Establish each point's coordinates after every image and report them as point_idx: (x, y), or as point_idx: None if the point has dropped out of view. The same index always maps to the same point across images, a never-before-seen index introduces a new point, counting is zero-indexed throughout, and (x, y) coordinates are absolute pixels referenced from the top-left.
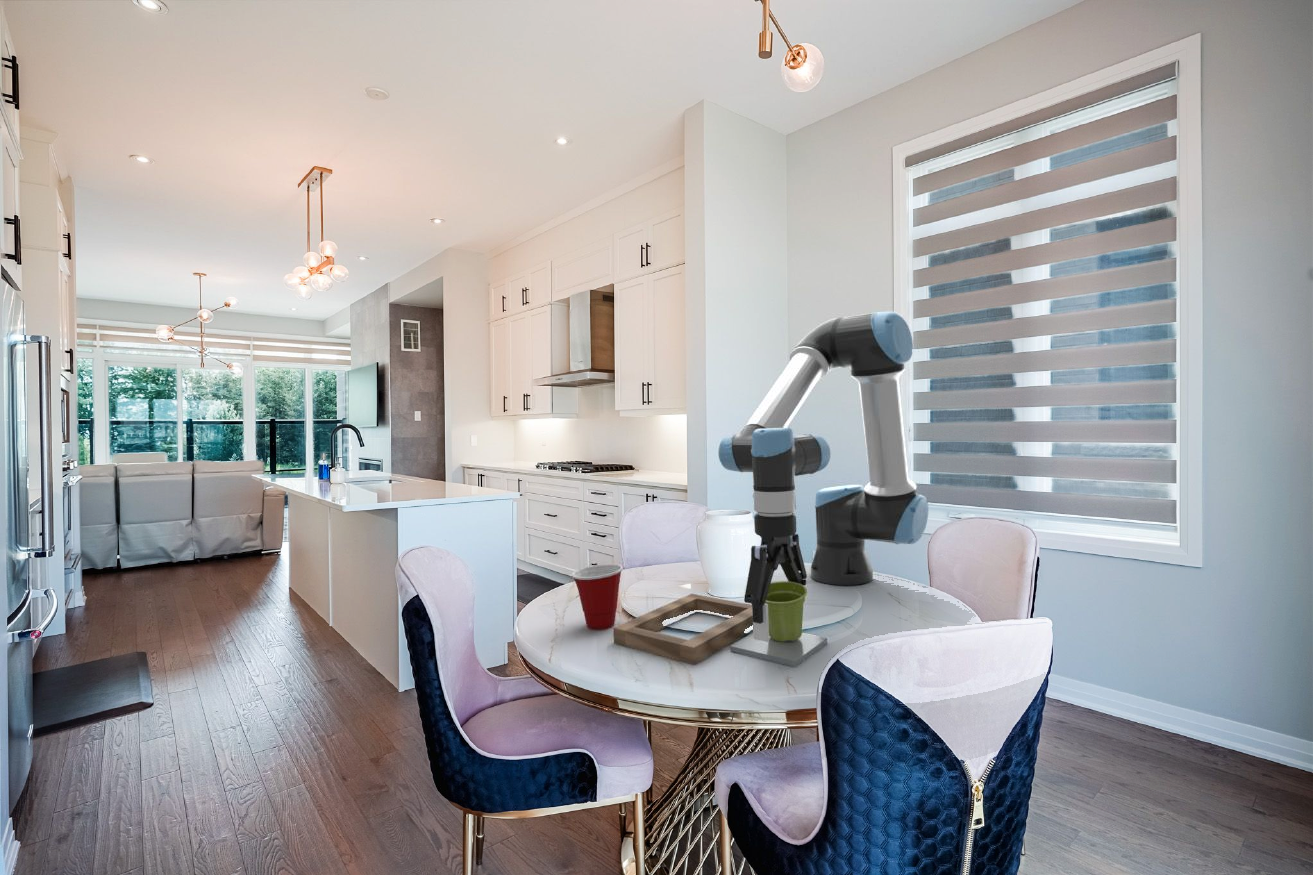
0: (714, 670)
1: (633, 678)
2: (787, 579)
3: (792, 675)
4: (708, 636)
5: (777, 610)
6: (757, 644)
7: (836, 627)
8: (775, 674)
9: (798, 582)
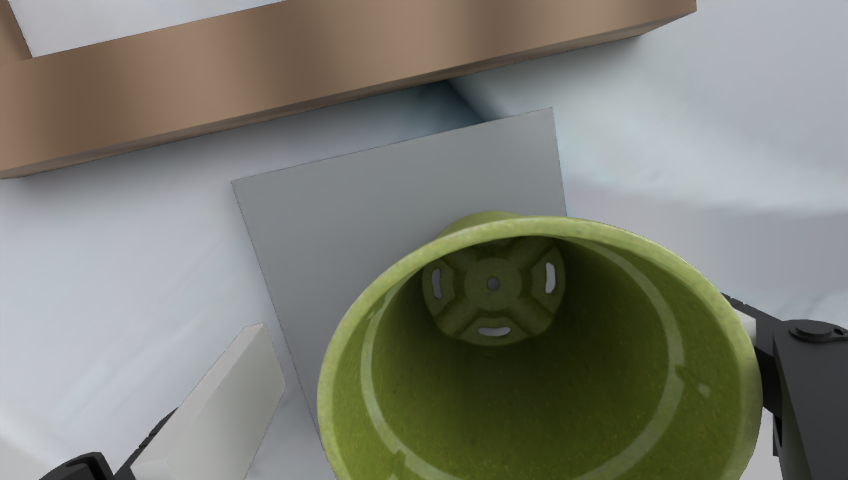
0: (63, 274)
1: None
2: (779, 357)
3: (270, 467)
4: (96, 119)
5: (381, 430)
6: (338, 253)
7: (749, 298)
8: None
9: (776, 434)
